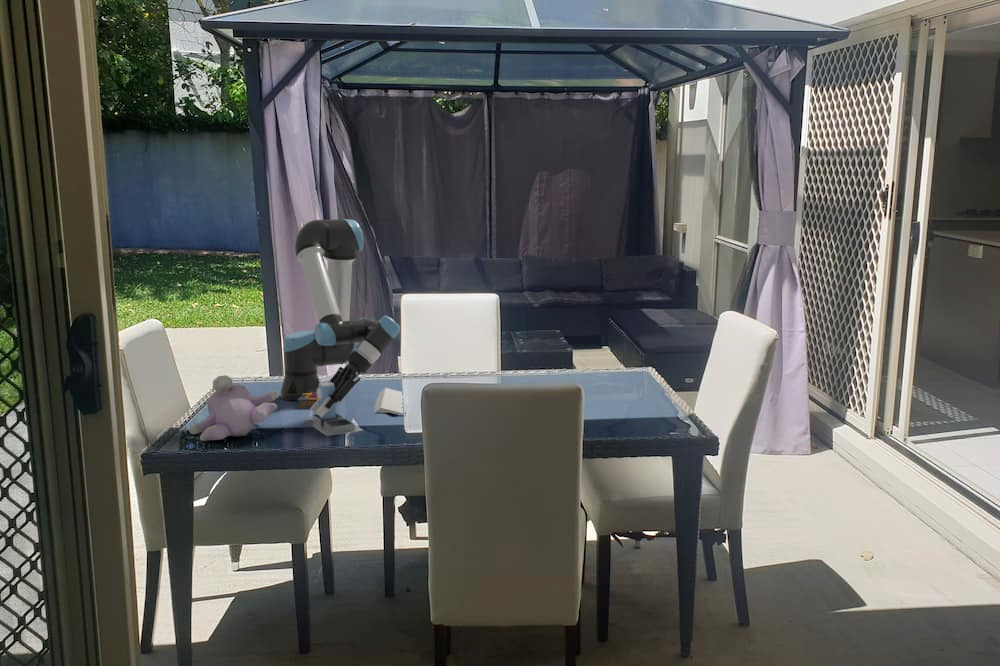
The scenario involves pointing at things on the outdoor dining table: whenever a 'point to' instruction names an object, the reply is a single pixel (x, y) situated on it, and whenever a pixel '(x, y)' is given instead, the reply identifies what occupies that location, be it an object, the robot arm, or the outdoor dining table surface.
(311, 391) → the decorative book
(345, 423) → the panel
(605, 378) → the outdoor dining table surface
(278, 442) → the outdoor dining table surface
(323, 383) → the plug
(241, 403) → the toy
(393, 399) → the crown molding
